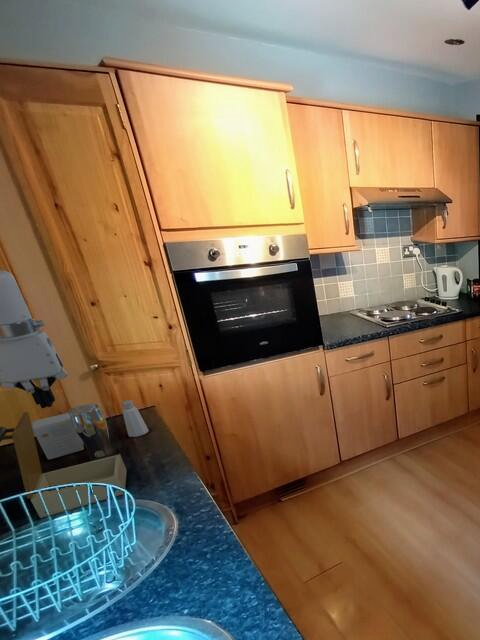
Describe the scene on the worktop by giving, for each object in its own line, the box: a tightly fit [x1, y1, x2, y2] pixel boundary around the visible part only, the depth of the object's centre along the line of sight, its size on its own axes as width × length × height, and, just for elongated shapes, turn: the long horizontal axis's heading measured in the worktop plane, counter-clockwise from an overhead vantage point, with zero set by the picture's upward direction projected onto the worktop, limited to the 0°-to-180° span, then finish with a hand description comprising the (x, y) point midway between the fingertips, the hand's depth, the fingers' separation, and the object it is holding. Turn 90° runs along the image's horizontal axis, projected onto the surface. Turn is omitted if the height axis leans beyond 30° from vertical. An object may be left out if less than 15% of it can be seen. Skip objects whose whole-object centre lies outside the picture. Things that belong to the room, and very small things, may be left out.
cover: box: [0, 411, 43, 499], centre depth 104 cm, size 16×13×5 cm
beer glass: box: [67, 403, 118, 461], centre depth 127 cm, size 7×7×15 cm
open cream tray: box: [30, 453, 127, 519], centre depth 113 cm, size 16×13×5 cm
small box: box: [31, 412, 85, 461], centre depth 130 cm, size 8×6×10 cm
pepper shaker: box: [120, 399, 149, 438], centre depth 140 cm, size 5×5×11 cm
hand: (47, 405), depth 104 cm, fingers closed
